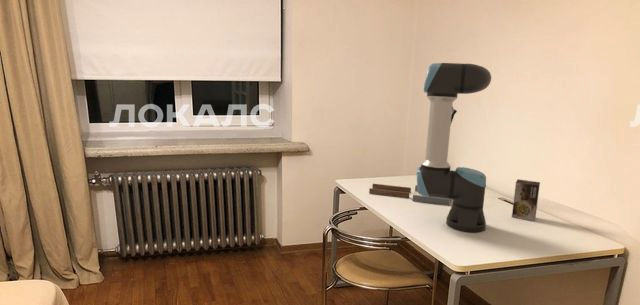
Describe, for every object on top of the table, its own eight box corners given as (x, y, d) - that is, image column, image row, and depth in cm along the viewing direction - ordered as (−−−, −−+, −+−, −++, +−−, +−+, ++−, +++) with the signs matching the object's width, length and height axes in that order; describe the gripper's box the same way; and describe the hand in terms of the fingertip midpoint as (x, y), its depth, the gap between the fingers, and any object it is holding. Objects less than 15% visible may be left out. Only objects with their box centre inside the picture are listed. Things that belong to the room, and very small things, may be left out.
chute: (408, 198, 193) (409, 193, 192) (369, 193, 198) (369, 188, 198) (410, 192, 203) (411, 187, 202) (372, 188, 209) (372, 183, 208)
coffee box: (535, 217, 171) (540, 182, 167) (534, 221, 165) (539, 185, 162) (512, 213, 175) (517, 178, 172) (511, 217, 170) (515, 181, 167)
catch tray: (449, 205, 183) (449, 199, 183) (412, 201, 188) (412, 195, 188) (448, 194, 201) (449, 188, 201) (415, 190, 206) (415, 185, 206)
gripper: (458, 96, 203) (453, 140, 207) (432, 95, 207) (428, 139, 211) (458, 96, 196) (454, 142, 200) (432, 95, 200) (428, 141, 204)
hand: (441, 140), depth 206 cm, fingers closed
